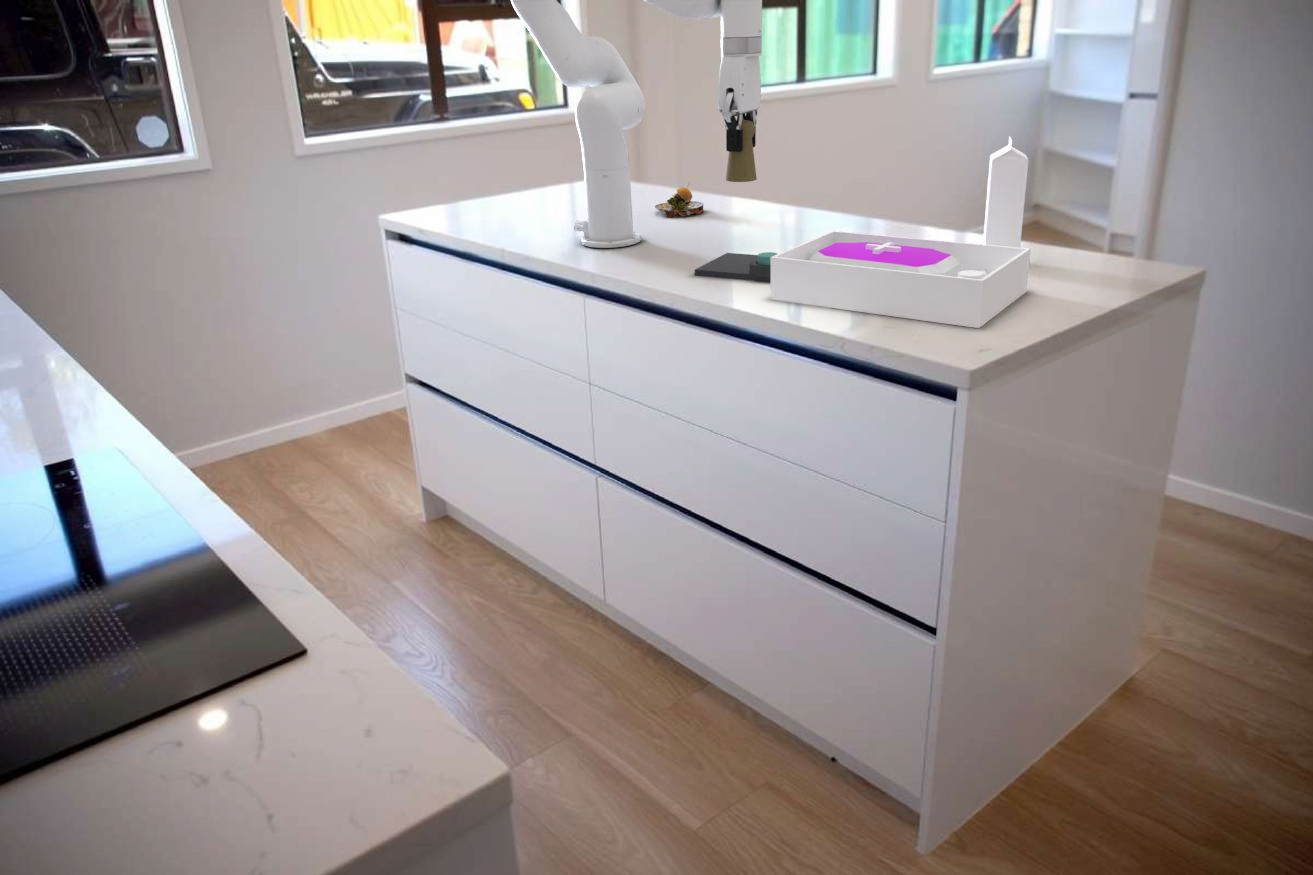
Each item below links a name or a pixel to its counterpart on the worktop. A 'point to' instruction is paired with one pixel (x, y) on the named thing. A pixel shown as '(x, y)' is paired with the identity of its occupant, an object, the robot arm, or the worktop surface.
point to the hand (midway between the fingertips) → (741, 148)
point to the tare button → (765, 258)
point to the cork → (743, 158)
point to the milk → (1005, 197)
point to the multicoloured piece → (680, 204)
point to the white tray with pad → (902, 277)
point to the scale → (736, 268)
